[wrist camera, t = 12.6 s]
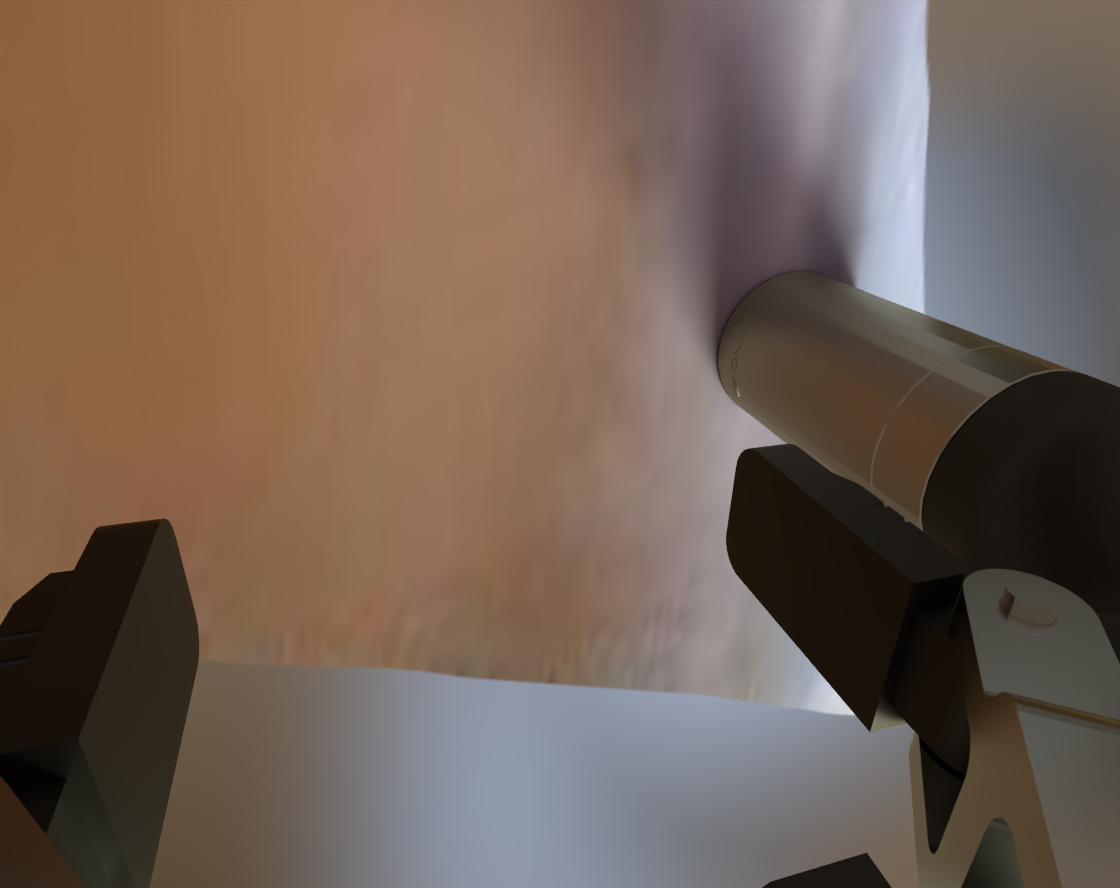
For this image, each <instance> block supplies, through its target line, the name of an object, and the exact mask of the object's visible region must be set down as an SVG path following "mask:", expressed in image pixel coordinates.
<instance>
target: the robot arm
mask: <svg viewBox="0 0 1120 888" xmlns="http://www.w3.org/2000/svg"><path fill="white" fill-rule="evenodd" d="M718 368H719V373H720V379H721V382H722V384H723V386H724V389H725V391H726V393H727V394H728V395H729V397H730V398H731V399H732V400H733V401H734V403H736V404H737V405H738V406H739V407H741V408H742V409H743V410H745V411H746V412H747V413H749V414H750V415H751V416H752V417H754V418H755V419H756V420H758V421H759V422H760V423H761V424H763V425H764V426H765V427H767V428H768V429H769V430H770V431H771V432H773V433H774V434H775V435H776V436H778V437H779V438H780V439H782V440H783V441H784V442H786V443H787V444H783V445H775V446H767V447H758V448H750V449H746V450H744V451H743V452H742V453H741V454H740V456H739V458H738V461H737V465H736V472H735V479H734V485H733V492H732V499H731V506H730V513H729V520H728V527H727V534H726V545H727V552H728V556H729V560H730V563H731V565H732V567H733V569H734V571H735V573H736V574H737V575H738V577H739V578H740V579H741V580H742V581H743V583H744V584H745V585H746V586H747V587H748V589H749V590H750V591H751V592H752V593H753V594H754V596H755V597H756V598H757V599H758V600H759V602H760V603H761V604H762V605H763V606H764V607H765V609H766V610H767V611H768V612H769V613H770V615H771V616H772V617H773V618H774V619H775V620H776V622H777V623H778V624H779V625H780V626H781V628H782V629H783V630H784V631H785V632H786V633H787V635H788V636H789V637H790V638H791V639H792V641H793V642H794V643H795V644H796V645H797V646H798V648H799V649H800V650H801V651H802V652H803V653H804V655H805V656H806V657H807V658H808V659H809V661H810V662H811V663H812V664H813V665H814V666H815V668H816V669H817V670H818V671H819V672H820V674H821V675H822V676H823V677H824V678H825V679H826V681H827V682H828V683H829V684H830V685H831V687H832V688H833V689H834V690H835V691H836V692H837V694H838V695H839V696H840V697H841V698H842V700H843V701H844V702H845V703H846V704H847V705H848V707H849V708H850V709H851V710H852V711H853V713H854V714H855V715H856V716H857V717H858V718H859V720H860V721H861V722H862V723H863V724H864V726H865V727H866V728H867V729H868V730H869V731H870V732H873V731H877V730H881V729H885V728H889V727H893V726H897V725H901V724H905V723H907V724H908V725H909V726H910V727H911V728H912V729H913V730H914V731H915V732H914V735H913V738H912V742H911V744H910V748H909V764H910V779H911V793H912V808H913V821H914V836H915V851H916V864H917V888H1120V388H1119V387H1117V386H1115V385H1112V384H1109V383H1107V382H1104V381H1102V380H1099V379H1096V378H1093V377H1091V376H1088V375H1085V374H1082V373H1079V372H1076V371H1073V370H1071V369H1068V368H1066V367H1063V366H1060V365H1058V364H1055V363H1052V362H1050V361H1047V360H1044V359H1042V358H1039V357H1036V356H1034V355H1031V354H1029V353H1026V352H1023V351H1020V350H1017V349H1014V348H1012V347H1009V346H1006V345H1004V344H1001V343H999V342H996V341H993V340H991V339H988V338H985V337H983V336H980V335H978V334H975V333H972V332H970V331H967V330H964V329H962V328H959V327H956V326H954V325H951V324H949V323H946V322H943V321H941V320H938V319H935V318H933V317H930V316H928V315H925V314H922V313H920V312H917V311H914V310H912V309H909V308H907V307H904V306H901V305H899V304H896V303H893V302H891V301H888V300H886V299H883V298H880V297H878V296H875V295H872V294H870V293H867V292H865V291H863V290H860V289H858V288H855V287H852V286H850V285H847V284H844V283H842V282H839V281H836V280H834V279H831V278H828V277H826V276H823V275H821V274H817V273H812V272H808V271H800V272H789V273H786V274H782V275H778V276H776V277H774V278H772V279H770V280H768V281H766V282H764V283H762V284H761V285H760V286H758V287H757V288H756V289H755V290H753V291H752V292H751V293H749V295H748V296H747V297H746V298H745V299H744V300H743V301H742V302H741V303H740V304H739V305H738V307H737V308H736V310H735V311H734V313H733V315H732V316H731V318H730V319H729V321H728V323H727V326H726V328H725V330H724V333H723V335H722V339H721V343H720V348H719V356H718ZM198 659H199V635H198V625H197V619H196V615H195V611H194V607H193V603H192V599H191V595H190V591H189V587H188V583H187V579H186V576H185V572H184V568H183V564H182V560H181V556H180V552H179V548H178V544H177V540H176V537H175V533H174V530H173V528H172V526H171V524H170V522H169V521H168V520H167V519H157V520H149V521H140V522H132V523H124V524H116V525H108V526H100V527H98V528H96V529H95V531H94V532H93V534H92V536H91V538H90V540H89V542H88V544H87V546H86V548H85V549H84V551H83V553H82V555H81V557H80V559H79V561H78V563H77V565H76V567H75V569H74V570H72V571H65V572H57V573H50V574H49V575H48V576H47V577H45V578H44V579H43V580H42V581H40V582H39V583H38V584H37V585H36V586H34V587H33V588H32V589H31V590H29V591H28V592H27V593H26V594H25V595H23V596H22V597H21V598H20V599H18V600H17V601H16V602H15V603H14V604H13V605H12V607H11V609H10V610H9V612H8V614H7V615H6V617H5V619H4V620H3V622H2V624H1V625H0V888H149V887H150V881H151V877H152V873H153V868H154V863H155V859H156V854H157V849H158V845H159V841H160V836H161V831H162V827H163V822H164V818H165V813H166V809H167V804H168V799H169V795H170V790H171V786H172V781H173V777H174V772H175V767H176V763H177V758H178V754H179V748H180V745H181V740H182V735H183V730H184V726H185V722H186V717H187V712H188V708H189V703H190V699H191V694H192V689H193V685H194V680H195V675H196V671H197V666H198ZM763 888H891V887H890V885H889V883H888V882H887V881H886V879H885V878H884V876H883V875H882V874H881V872H880V871H879V869H878V868H877V867H876V865H875V864H874V862H873V861H872V860H871V858H870V857H869V855H868V854H867V853H865V854H861V855H858V856H855V857H851V858H848V859H844V860H841V861H838V862H835V863H831V864H828V865H825V866H821V867H818V868H815V869H811V870H808V871H805V872H802V873H798V874H795V875H792V876H788V877H785V878H782V879H779V880H775V881H772V882H770V883H768V884H767V885H765V886H764V887H763Z"/></svg>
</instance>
